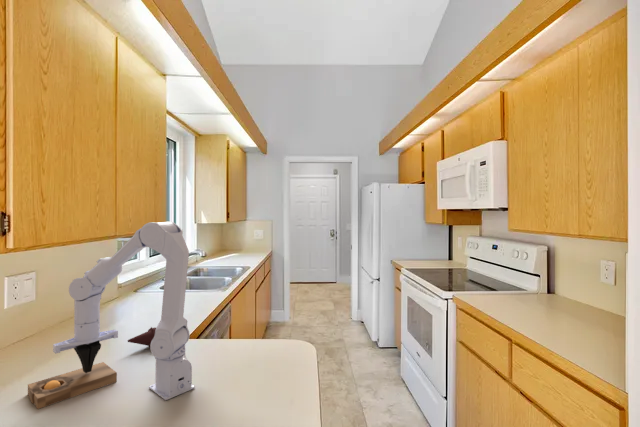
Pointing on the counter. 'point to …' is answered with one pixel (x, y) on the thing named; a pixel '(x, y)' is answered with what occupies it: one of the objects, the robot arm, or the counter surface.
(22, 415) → the counter surface
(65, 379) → the board
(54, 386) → the ball
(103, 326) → the counter surface
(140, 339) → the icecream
